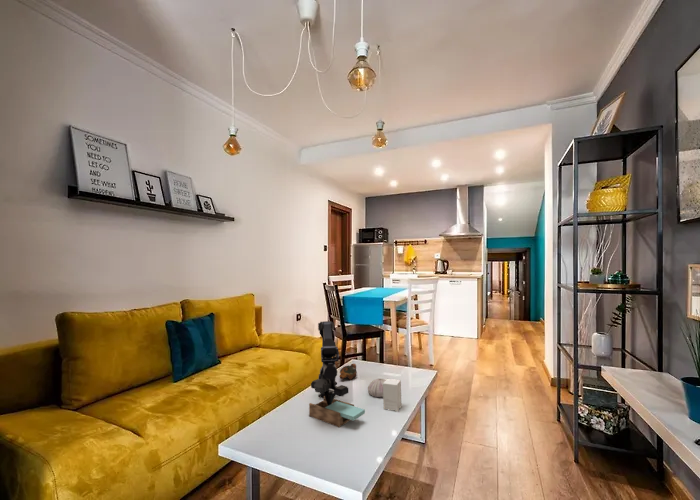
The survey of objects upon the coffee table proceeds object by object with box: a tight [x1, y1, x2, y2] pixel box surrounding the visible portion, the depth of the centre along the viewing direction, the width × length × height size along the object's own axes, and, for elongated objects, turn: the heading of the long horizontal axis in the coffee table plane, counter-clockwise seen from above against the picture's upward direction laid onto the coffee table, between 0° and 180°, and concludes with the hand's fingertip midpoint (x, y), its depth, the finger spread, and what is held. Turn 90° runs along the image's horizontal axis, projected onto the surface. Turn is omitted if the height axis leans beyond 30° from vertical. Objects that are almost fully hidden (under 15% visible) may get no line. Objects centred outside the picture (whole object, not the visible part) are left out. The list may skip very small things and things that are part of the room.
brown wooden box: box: [308, 396, 355, 428], centre depth 150 cm, size 18×11×6 cm, turn 53°
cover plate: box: [325, 401, 366, 422], centre depth 146 cm, size 16×9×2 cm, turn 54°
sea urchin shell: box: [367, 378, 386, 398], centre depth 176 cm, size 13×14×8 cm
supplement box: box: [382, 378, 402, 412], centre depth 159 cm, size 7×7×13 cm
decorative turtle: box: [339, 363, 358, 381], centre depth 201 cm, size 10×15×8 cm, turn 148°
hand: (329, 405), depth 151 cm, fingers closed
